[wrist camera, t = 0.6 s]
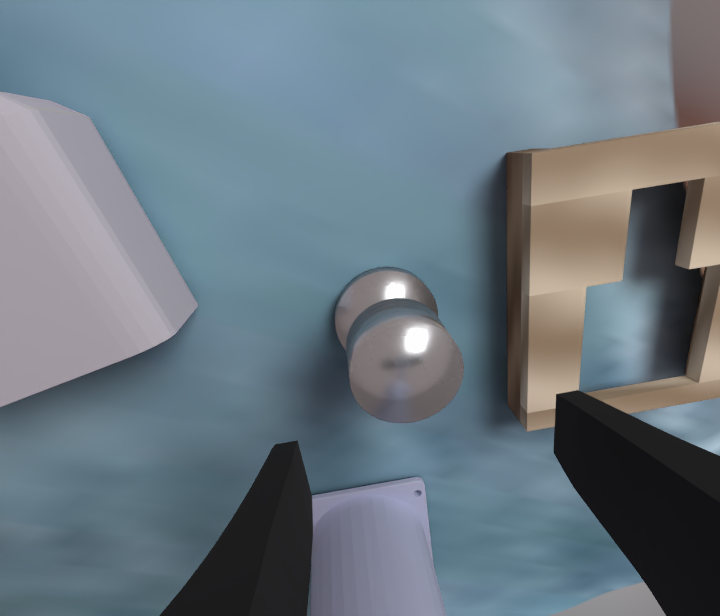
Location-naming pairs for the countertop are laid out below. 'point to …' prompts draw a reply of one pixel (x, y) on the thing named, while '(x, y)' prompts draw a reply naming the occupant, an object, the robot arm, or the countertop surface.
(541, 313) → the keyhole plate
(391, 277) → the peg
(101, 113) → the countertop surface
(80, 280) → the charger
